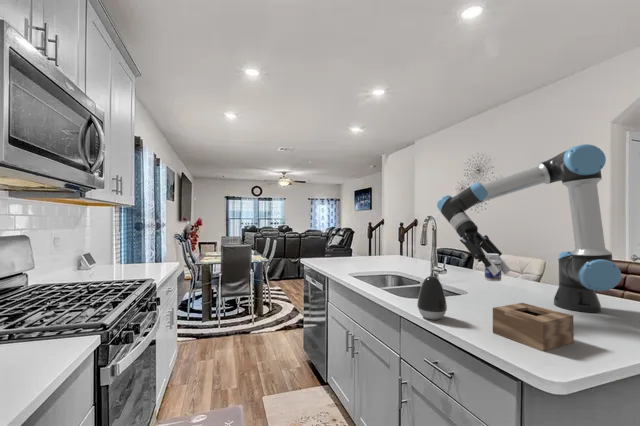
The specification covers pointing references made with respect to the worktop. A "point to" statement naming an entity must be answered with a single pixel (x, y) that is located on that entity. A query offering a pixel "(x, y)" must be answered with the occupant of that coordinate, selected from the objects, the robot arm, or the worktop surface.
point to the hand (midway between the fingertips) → (502, 272)
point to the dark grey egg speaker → (432, 299)
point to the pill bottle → (497, 263)
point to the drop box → (533, 326)
